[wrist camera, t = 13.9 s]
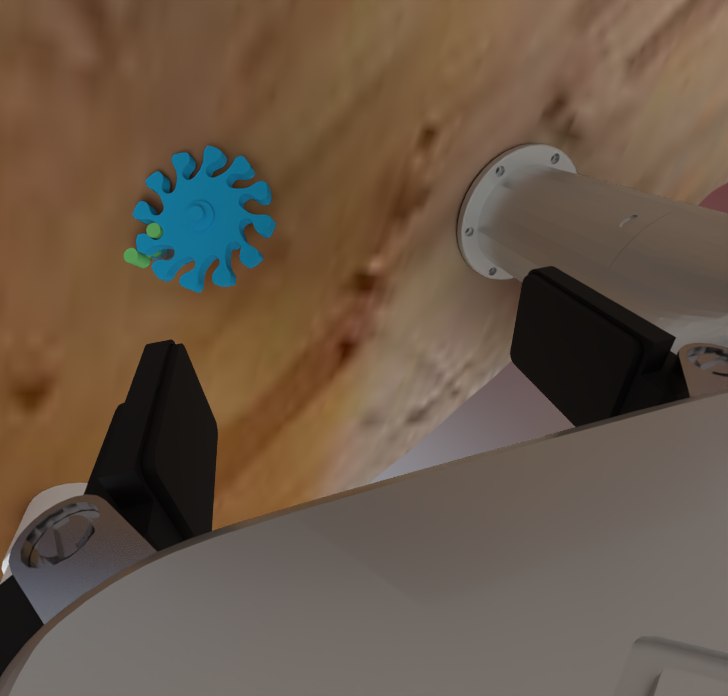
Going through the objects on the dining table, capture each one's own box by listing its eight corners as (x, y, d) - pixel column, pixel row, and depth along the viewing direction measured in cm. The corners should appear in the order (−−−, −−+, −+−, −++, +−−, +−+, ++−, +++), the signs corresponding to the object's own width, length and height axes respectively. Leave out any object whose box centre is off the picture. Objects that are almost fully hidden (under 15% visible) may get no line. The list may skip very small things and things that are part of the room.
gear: (239, 116, 26) (289, 252, 25) (271, 165, 32) (313, 276, 30) (95, 183, 27) (136, 316, 26) (152, 218, 33) (187, 328, 31)
